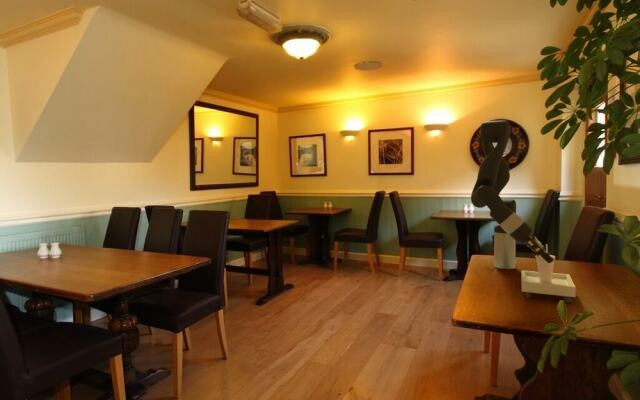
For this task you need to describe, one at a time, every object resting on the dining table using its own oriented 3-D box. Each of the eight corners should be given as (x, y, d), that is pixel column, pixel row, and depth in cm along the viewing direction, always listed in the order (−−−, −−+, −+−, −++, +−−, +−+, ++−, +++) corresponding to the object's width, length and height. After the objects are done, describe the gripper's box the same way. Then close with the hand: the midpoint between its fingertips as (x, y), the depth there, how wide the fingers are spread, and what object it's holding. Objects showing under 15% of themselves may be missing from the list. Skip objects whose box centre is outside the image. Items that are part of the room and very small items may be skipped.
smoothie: (558, 284, 133) (558, 245, 133) (539, 283, 135) (538, 245, 134) (551, 279, 140) (550, 242, 139) (532, 279, 141) (532, 243, 141)
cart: (521, 285, 149) (521, 270, 149) (568, 290, 142) (569, 274, 141) (521, 299, 133) (521, 281, 133) (575, 305, 126) (575, 287, 125)
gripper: (524, 222, 133) (561, 256, 128) (523, 218, 146) (557, 249, 141) (507, 236, 136) (543, 270, 131) (508, 231, 148) (541, 261, 144)
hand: (550, 259), depth 136 cm, fingers open, 8 cm apart
